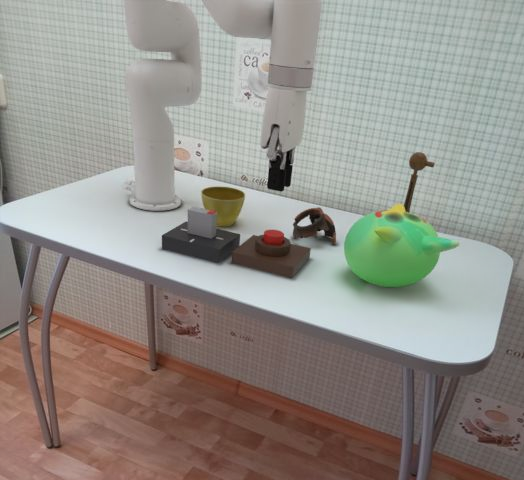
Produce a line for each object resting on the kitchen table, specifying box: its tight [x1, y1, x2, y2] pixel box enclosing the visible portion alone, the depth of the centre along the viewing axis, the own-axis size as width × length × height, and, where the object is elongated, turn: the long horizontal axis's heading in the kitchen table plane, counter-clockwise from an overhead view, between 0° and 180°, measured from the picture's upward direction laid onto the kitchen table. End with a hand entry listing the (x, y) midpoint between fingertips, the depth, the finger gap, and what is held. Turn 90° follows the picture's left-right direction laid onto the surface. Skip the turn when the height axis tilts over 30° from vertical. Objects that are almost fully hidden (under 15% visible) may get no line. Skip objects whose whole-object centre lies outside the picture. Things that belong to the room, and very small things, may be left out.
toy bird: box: [343, 203, 460, 288], centre depth 97 cm, size 18×17×15 cm
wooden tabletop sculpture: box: [403, 151, 435, 213], centre depth 116 cm, size 6×5×20 cm
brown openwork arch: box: [292, 207, 337, 246], centre depth 116 cm, size 12×10×8 cm
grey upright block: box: [187, 206, 217, 239], centre depth 104 cm, size 6×2×5 cm, turn 68°
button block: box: [230, 234, 312, 279], centre depth 103 cm, size 13×11×4 cm
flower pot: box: [200, 185, 246, 228], centre depth 119 cm, size 10×10×7 cm
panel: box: [161, 220, 241, 264], centre depth 106 cm, size 13×10×3 cm
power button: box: [263, 229, 285, 245], centre depth 102 cm, size 4×4×2 cm
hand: (278, 186), depth 96 cm, fingers closed
